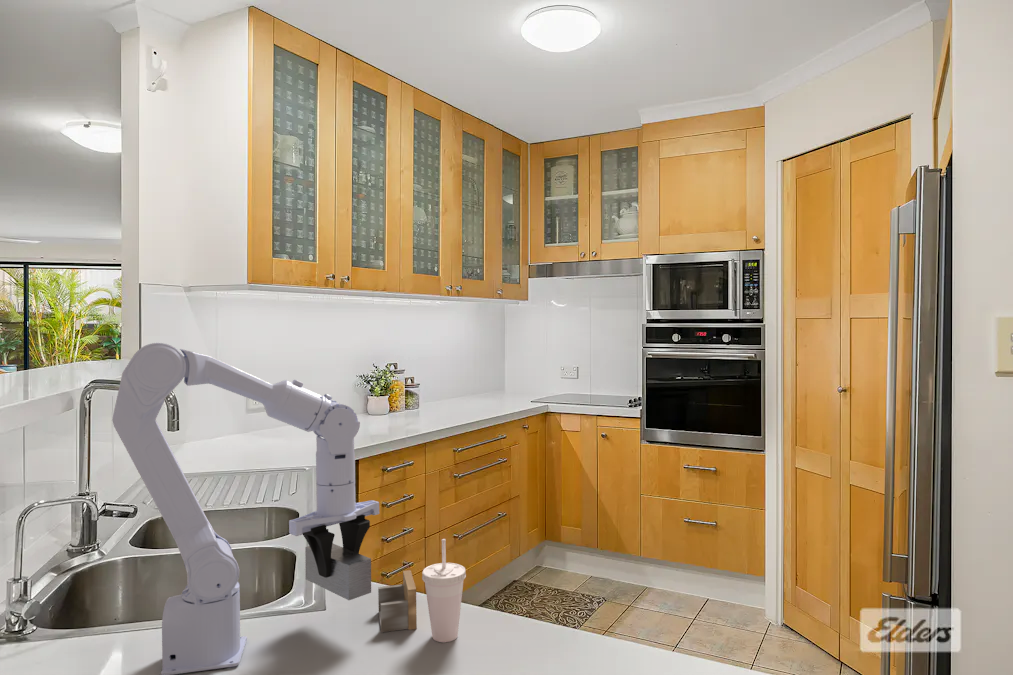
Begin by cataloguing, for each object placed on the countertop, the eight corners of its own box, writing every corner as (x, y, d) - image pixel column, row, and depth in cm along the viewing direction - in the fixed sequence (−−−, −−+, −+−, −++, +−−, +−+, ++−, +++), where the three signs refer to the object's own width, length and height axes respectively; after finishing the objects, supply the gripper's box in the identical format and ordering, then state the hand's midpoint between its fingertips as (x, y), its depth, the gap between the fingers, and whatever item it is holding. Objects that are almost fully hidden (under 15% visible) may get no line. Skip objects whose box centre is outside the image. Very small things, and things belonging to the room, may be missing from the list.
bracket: (381, 633, 94) (380, 593, 94) (378, 611, 101) (377, 573, 101) (416, 629, 95) (416, 589, 95) (411, 607, 103) (410, 570, 103)
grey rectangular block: (371, 592, 93) (371, 558, 93) (349, 600, 90) (348, 565, 90) (327, 572, 101) (327, 541, 101) (305, 579, 98) (305, 547, 99)
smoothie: (466, 624, 96) (465, 532, 96) (467, 645, 89) (465, 547, 89) (424, 627, 95) (422, 534, 95) (421, 648, 89) (419, 549, 89)
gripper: (306, 495, 88) (308, 593, 88) (390, 476, 99) (392, 563, 99) (281, 487, 92) (282, 580, 92) (363, 471, 103) (365, 554, 103)
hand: (337, 571), depth 96 cm, fingers closed on grey rectangular block, 4 cm apart
